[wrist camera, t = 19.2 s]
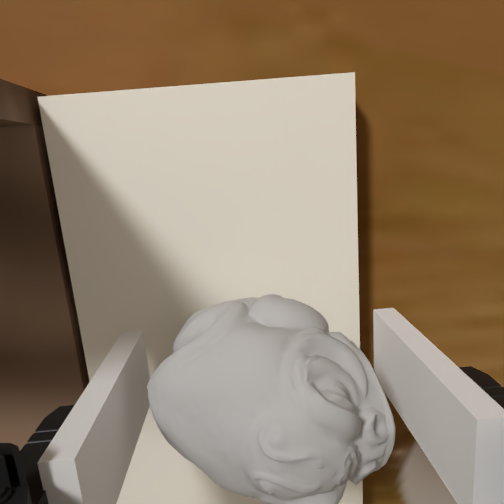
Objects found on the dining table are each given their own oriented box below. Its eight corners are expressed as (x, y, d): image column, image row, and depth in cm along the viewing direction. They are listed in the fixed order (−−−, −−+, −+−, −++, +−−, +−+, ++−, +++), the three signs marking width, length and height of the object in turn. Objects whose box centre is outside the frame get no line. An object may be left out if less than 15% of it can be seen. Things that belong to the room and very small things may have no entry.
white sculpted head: (328, 419, 17) (386, 590, 10) (162, 396, 17) (107, 559, 10) (360, 281, 16) (450, 373, 9) (180, 254, 15) (131, 328, 9)
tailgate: (129, 522, 20) (354, 503, 20) (120, 551, 18) (363, 530, 18) (56, 102, 15) (344, 80, 16) (37, 97, 14) (354, 72, 14)
